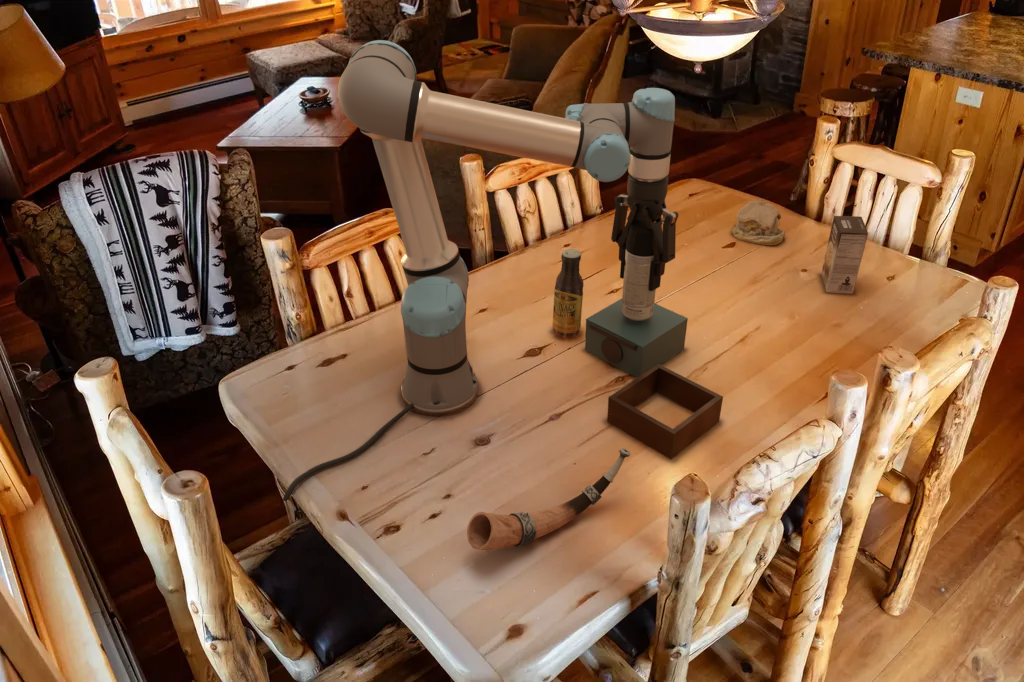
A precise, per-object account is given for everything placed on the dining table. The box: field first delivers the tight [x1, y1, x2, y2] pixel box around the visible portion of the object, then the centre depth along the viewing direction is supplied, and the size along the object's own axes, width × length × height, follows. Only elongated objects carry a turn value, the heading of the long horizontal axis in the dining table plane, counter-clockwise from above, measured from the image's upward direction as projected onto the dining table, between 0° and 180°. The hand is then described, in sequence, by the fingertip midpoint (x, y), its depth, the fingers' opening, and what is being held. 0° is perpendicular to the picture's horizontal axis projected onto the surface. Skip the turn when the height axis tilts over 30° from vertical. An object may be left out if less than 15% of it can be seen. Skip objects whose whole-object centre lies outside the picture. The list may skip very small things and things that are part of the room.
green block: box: [584, 298, 689, 379], centre depth 170 cm, size 16×15×8 cm
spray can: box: [621, 221, 657, 321], centre depth 161 cm, size 7×7×20 cm
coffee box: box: [820, 215, 869, 295], centre depth 189 cm, size 9×6×16 cm
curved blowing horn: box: [466, 447, 631, 551], centre depth 128 cm, size 6×30×10 cm, turn 121°
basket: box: [606, 364, 724, 460], centre depth 150 cm, size 15×15×6 cm
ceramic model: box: [731, 199, 786, 246], centre depth 214 cm, size 14×11×10 cm
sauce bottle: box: [551, 248, 584, 339], centre depth 173 cm, size 6×6×20 cm
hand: (639, 281), depth 163 cm, fingers closed on spray can, 7 cm apart
